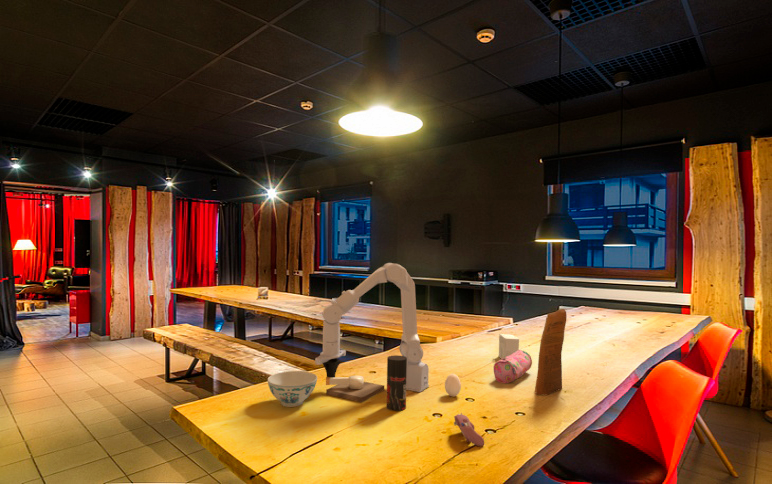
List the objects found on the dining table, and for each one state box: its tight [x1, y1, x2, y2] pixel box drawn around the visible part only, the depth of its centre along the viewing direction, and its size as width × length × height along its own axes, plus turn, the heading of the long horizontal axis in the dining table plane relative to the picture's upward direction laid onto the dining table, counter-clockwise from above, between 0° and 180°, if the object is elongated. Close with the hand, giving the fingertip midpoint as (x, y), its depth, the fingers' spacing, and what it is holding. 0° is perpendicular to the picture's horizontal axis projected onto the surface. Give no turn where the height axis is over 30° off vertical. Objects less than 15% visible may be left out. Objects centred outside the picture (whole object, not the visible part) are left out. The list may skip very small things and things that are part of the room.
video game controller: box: [453, 412, 485, 447], centre depth 110 cm, size 10×5×7 cm, turn 5°
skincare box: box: [498, 333, 520, 360], centre depth 192 cm, size 10×6×10 cm, turn 179°
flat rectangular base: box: [325, 381, 385, 403], centre depth 144 cm, size 14×14×2 cm
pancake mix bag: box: [534, 308, 567, 396], centre depth 150 cm, size 7×19×28 cm, turn 133°
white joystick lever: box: [325, 375, 365, 389], centre depth 144 cm, size 12×5×3 cm, turn 96°
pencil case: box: [493, 349, 533, 384], centre depth 165 cm, size 21×9×9 cm, turn 143°
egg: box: [444, 373, 462, 397], centre depth 142 cm, size 5×5×7 cm
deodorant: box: [386, 355, 407, 412], centre depth 131 cm, size 6×6×15 cm
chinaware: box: [267, 370, 318, 408], centre depth 133 cm, size 15×15×8 cm
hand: (330, 381), depth 145 cm, fingers closed, pressing on white joystick lever
